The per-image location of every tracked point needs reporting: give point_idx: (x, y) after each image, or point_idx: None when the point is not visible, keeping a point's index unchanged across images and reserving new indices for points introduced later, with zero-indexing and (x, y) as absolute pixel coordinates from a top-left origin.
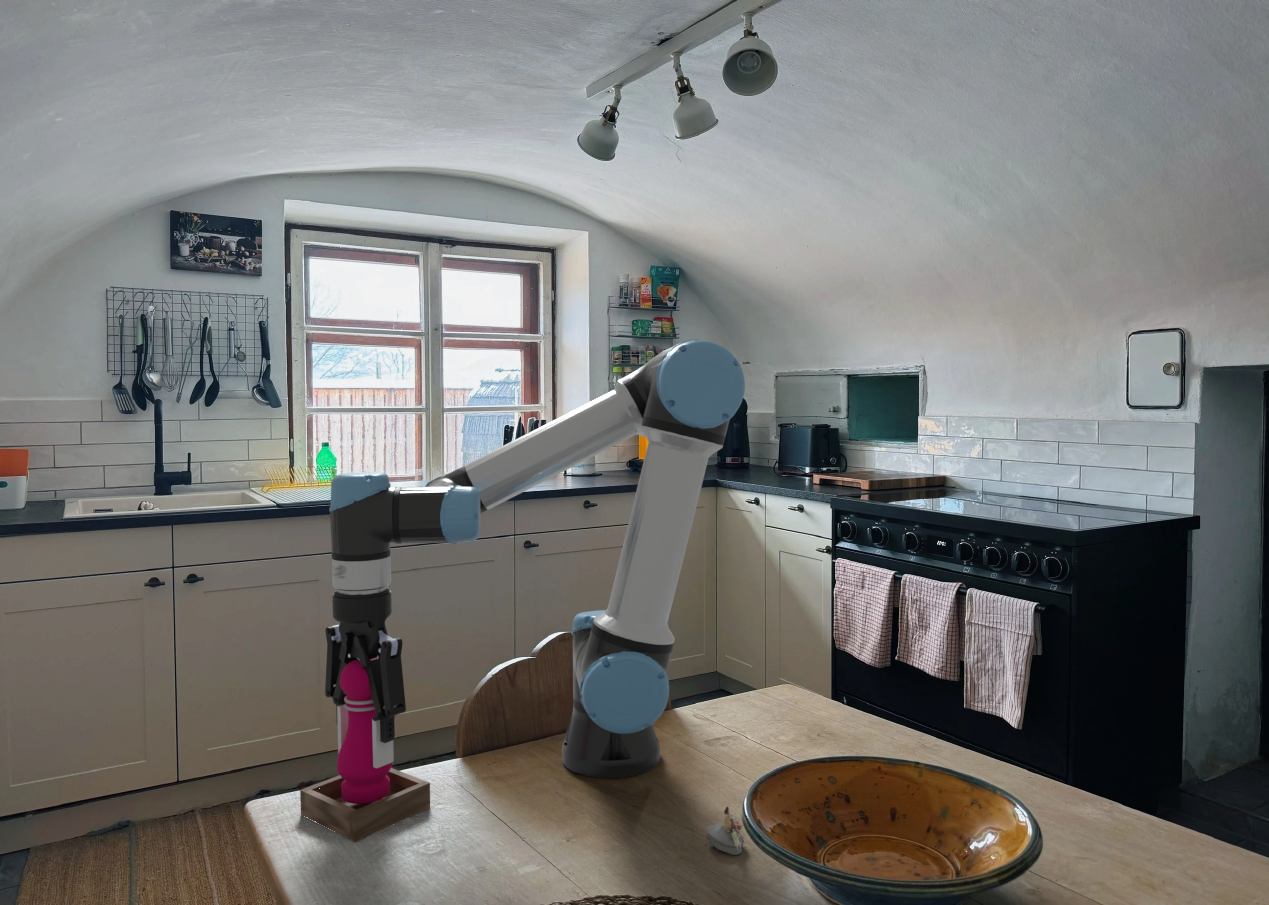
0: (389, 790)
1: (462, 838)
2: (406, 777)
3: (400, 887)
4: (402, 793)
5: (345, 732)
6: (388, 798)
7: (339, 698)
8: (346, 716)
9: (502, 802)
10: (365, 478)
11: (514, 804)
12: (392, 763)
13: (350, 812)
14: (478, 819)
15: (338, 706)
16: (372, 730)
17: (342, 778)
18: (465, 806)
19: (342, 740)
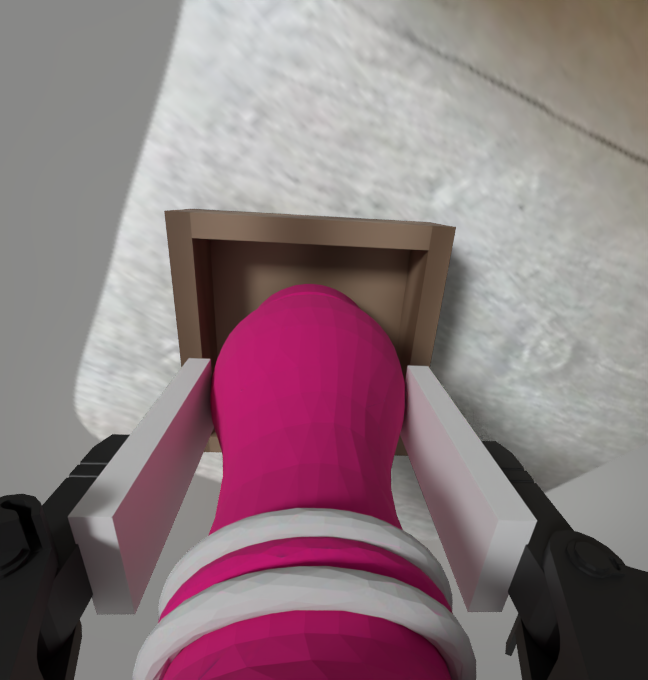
0: (359, 308)
1: (592, 290)
2: (361, 242)
3: (576, 461)
4: (432, 325)
5: (189, 461)
6: (420, 365)
7: (72, 673)
8: (160, 519)
9: (598, 62)
10: None
11: (641, 49)
12: (383, 330)
13: (396, 454)
14: (582, 195)
15: (107, 612)
16: (441, 541)
17: (201, 350)
18: (509, 155)
19: (199, 451)
